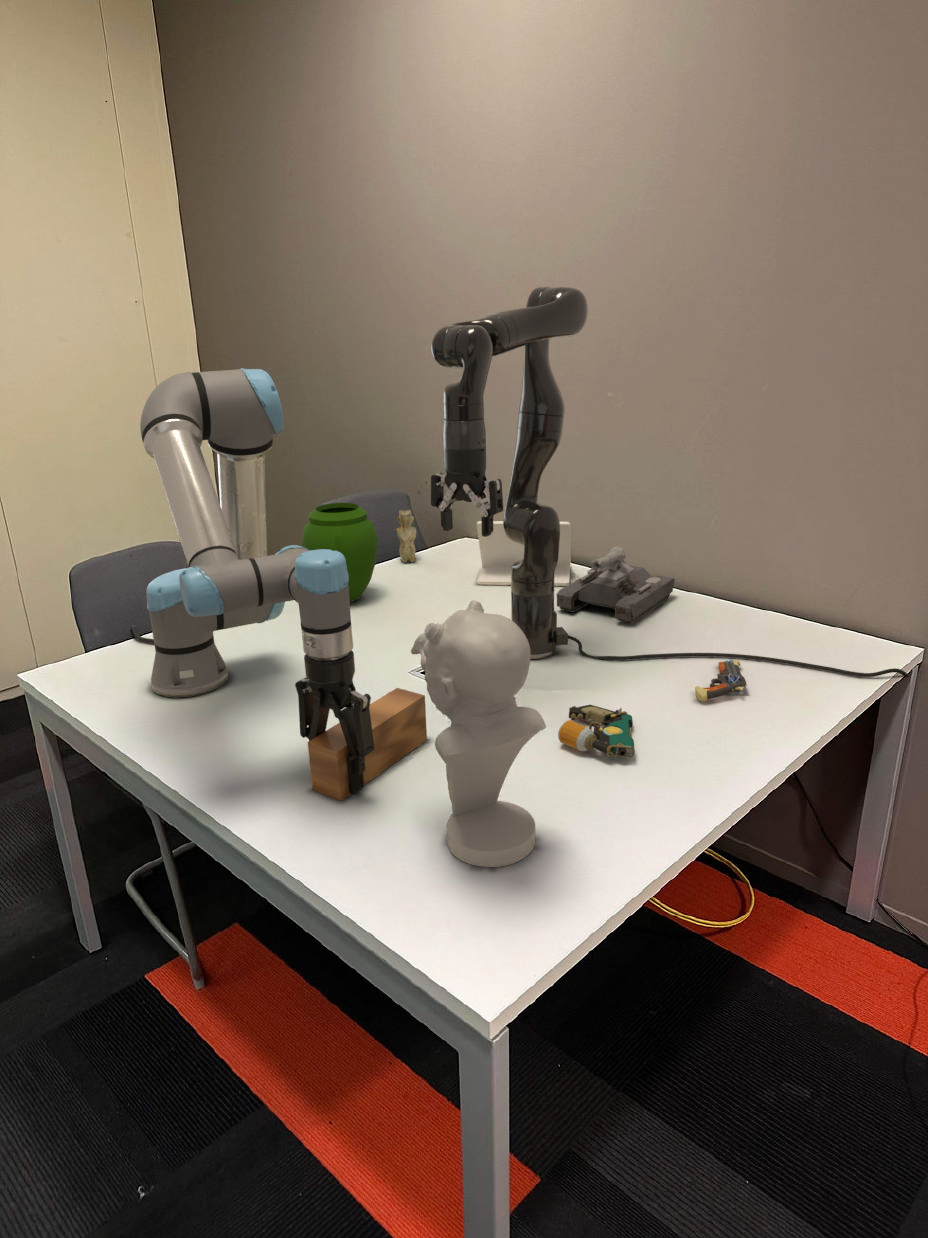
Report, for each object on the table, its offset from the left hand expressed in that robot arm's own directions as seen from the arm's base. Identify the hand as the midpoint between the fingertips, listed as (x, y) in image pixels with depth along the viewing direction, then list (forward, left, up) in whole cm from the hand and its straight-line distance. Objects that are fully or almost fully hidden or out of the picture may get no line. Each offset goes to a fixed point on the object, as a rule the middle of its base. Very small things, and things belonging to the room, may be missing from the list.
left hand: (340, 783), depth 138 cm
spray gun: (+19, +42, -1) cm, 46 cm away
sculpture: (-92, +86, -1) cm, 126 cm away
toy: (-23, +98, -1) cm, 101 cm away
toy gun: (+21, +76, -1) cm, 79 cm away
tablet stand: (-57, +99, -1) cm, 114 cm away
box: (-2, +8, -1) cm, 8 cm away
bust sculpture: (+24, +7, -1) cm, 25 cm away
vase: (-77, +52, -1) cm, 93 cm away
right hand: (-10, +38, +32) cm, 51 cm away
